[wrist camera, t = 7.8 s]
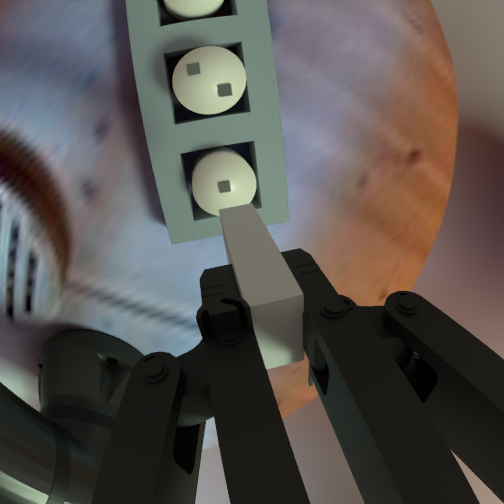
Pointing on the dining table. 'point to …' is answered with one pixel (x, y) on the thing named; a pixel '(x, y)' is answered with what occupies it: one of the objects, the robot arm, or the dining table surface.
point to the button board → (214, 126)
